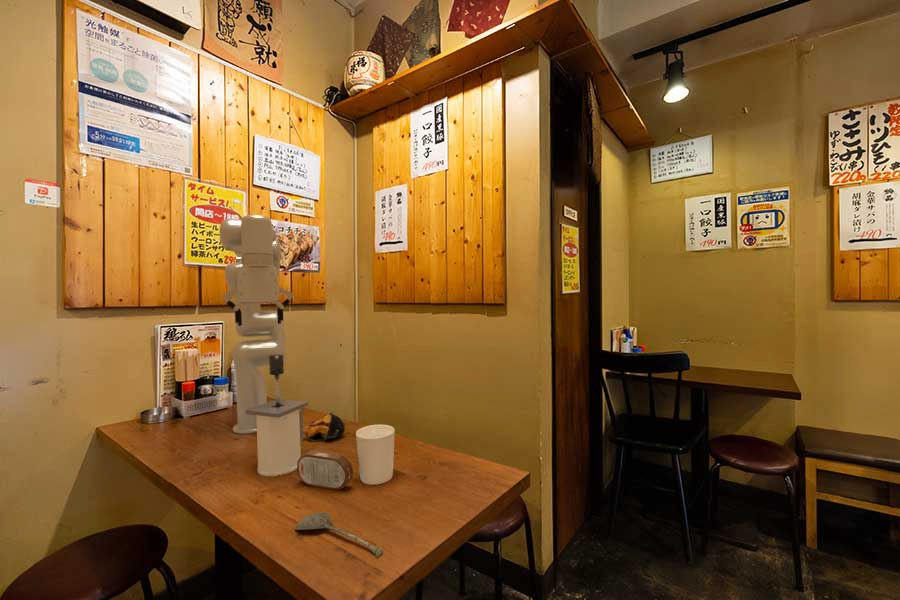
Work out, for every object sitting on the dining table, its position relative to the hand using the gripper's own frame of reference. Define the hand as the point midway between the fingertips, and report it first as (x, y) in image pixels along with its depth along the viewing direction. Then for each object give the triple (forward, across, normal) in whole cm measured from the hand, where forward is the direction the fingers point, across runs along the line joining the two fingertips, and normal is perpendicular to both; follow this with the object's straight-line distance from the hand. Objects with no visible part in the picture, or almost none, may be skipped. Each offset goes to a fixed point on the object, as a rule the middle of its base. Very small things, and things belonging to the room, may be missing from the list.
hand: (260, 324), depth 105 cm
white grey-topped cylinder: (+40, +5, 0) cm, 40 cm away
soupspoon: (+40, +12, -40) cm, 58 cm away
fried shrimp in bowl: (+40, +16, +16) cm, 46 cm away
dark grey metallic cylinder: (+25, +4, -1) cm, 26 cm away
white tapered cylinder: (+40, +26, -20) cm, 52 cm away
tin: (+40, +13, -18) cm, 46 cm away
